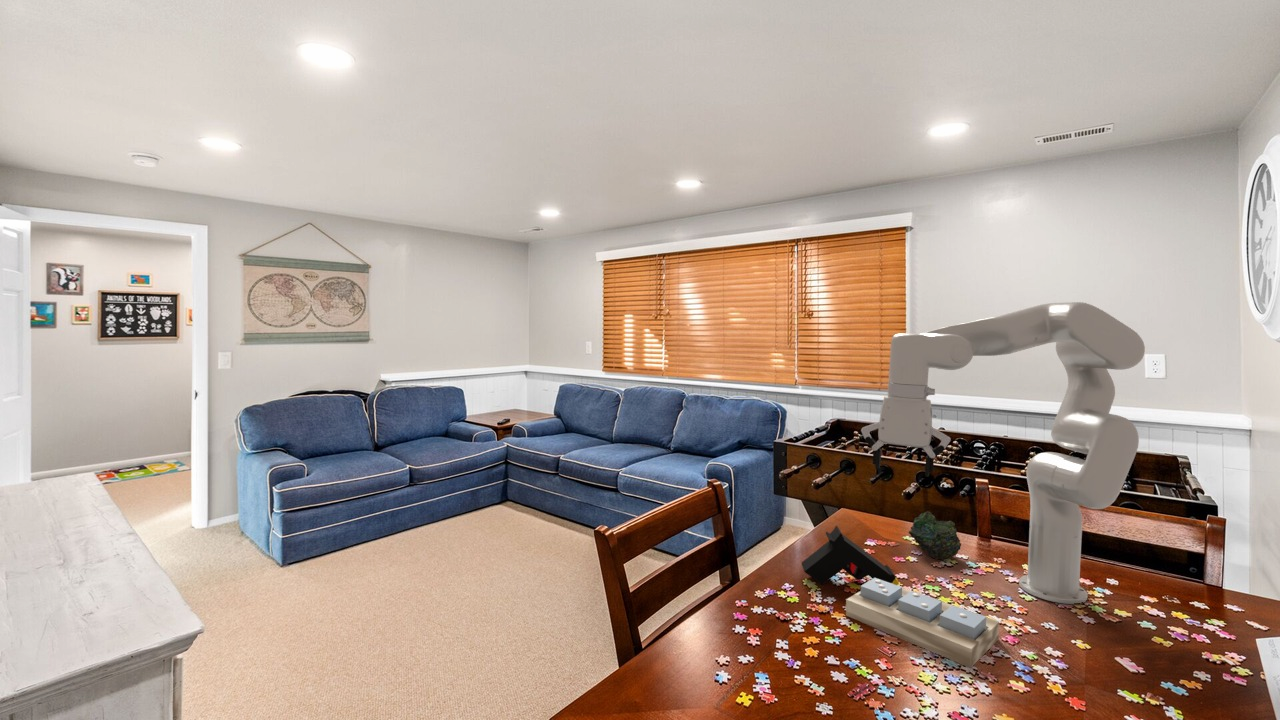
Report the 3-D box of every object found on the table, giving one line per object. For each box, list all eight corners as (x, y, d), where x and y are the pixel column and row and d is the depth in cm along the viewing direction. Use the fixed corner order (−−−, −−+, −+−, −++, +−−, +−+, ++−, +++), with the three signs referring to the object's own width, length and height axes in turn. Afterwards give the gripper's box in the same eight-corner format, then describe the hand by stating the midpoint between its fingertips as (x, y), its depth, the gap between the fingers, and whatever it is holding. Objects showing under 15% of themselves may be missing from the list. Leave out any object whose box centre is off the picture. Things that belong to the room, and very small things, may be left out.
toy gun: (867, 619, 133) (902, 579, 131) (803, 571, 135) (837, 531, 133) (862, 608, 138) (895, 570, 136) (800, 562, 140) (833, 523, 138)
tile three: (874, 588, 125) (874, 576, 125) (901, 598, 121) (902, 586, 121) (860, 597, 122) (860, 585, 121) (888, 608, 117) (888, 595, 117)
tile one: (952, 617, 113) (952, 603, 113) (985, 629, 109) (986, 615, 109) (939, 627, 109) (939, 614, 109) (973, 641, 105) (974, 626, 105)
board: (878, 594, 129) (879, 579, 129) (998, 639, 111) (999, 621, 111) (845, 615, 120) (846, 599, 120) (970, 667, 102) (971, 648, 102)
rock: (894, 543, 159) (895, 508, 158) (929, 540, 161) (930, 505, 160) (927, 564, 145) (929, 526, 144) (966, 561, 147) (967, 523, 146)
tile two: (911, 602, 119) (911, 589, 119) (941, 613, 115) (942, 600, 115) (897, 611, 116) (898, 598, 115) (928, 623, 111) (929, 610, 111)
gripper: (953, 394, 120) (948, 474, 121) (866, 387, 129) (861, 462, 130) (953, 397, 114) (947, 482, 115) (861, 389, 122) (856, 469, 123)
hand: (902, 471), depth 122 cm, fingers open, 9 cm apart
